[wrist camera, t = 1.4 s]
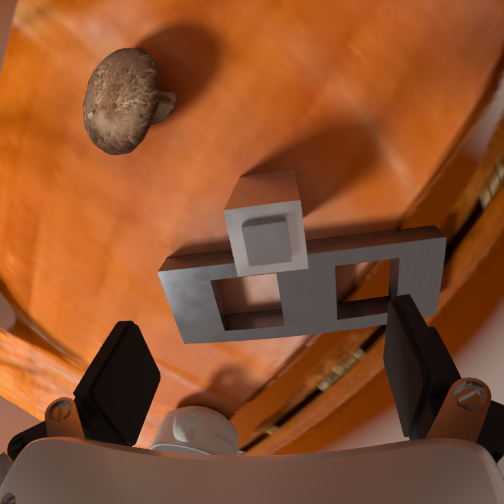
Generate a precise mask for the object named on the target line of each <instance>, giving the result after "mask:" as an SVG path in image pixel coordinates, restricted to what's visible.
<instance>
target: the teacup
mask: <svg viewBox="0 0 504 504" xmlns="http://www.w3.org/2000/svg"><path fill="white" fill-rule="evenodd" d="M150 450H159V451H168V452H178V453H189V454H204V455H227V456H237V450H238V434H237V431H236V429H235V427H234V426H233V425H232V423H231V422H229V421H228V420H227V419H226V417H224V416H223V415H222V414H221V413H219V412H217V411H215V410H213V409H210V408H207V407H203V406H186V407H182V408H178V409H175V410H173V411H171V412H169V413H168V414H167V415H166V416H165V418H164V419H163V421H162V423H161V425H160V427H159V429H158V432H157V434H156V436H155V439H154V442H153V444H152V446H151V447H150Z"/></svg>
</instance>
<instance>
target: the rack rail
mask: <svg viewBox="0 0 504 504" xmlns="http://www.w3.org/2000/svg"><path fill="white" fill-rule="evenodd" d="M445 248H446V236H445V235H444V234H443V233H442V232H441V231H440V230H439V229H438V228H437V227H436V226H435V225H433V226H424V227H416V228H407V229H399V230H390V231H382V232H374V233H365V234H357V235H348V236H340V237H332V238H324V239H315V240H307V241H306V250H307V259H308V269H301V270H292V271H283V272H275V273H277V279H278V286H279V292H280V298H281V305H282V309H280V310H270V311H260V312H249V313H238V314H228V311H227V307H226V304H225V300H224V296H223V292H222V288H221V285H220V281H219V279H227V278H237V277H238V274H237V270H236V266H235V261H234V257H233V252H232V250H226V251H218V252H210V253H202V254H194V255H186V256H178V257H170V258H166V260H165V261H164V263H163V264H162V266H161V268H160V269H159V271H158V274H159V277H160V280H161V283H162V285H163V288H164V291H165V294H166V297H167V299H168V302H169V305H170V308H171V310H172V313H173V316H174V318H175V321H176V324H177V326H178V329H179V331H180V334H181V337H182V339H183V342H184V344H188V343H211V342H229V341H244V340H258V339H270V338H281V337H291V336H301V335H310V334H319V333H327V332H335V331H343V330H350V329H357V328H364V327H371V326H378V325H384V324H387V314H388V303H389V301H393V298H394V296H398V295H405V294H410V295H411V297H412V299H413V301H414V302H415V304H416V306H417V308H418V310H419V312H420V313H421V315H422V317H423V318H424V317H429V316H434V315H436V312H437V306H438V301H439V295H440V288H441V281H442V274H443V266H444V258H445ZM386 259H390V280H389V296H385V297H377V298H370V299H363V300H356V301H348V302H341V303H337V301H336V278H335V266H340V265H348V264H356V263H363V262H371V261H379V260H386ZM266 274H273V273H266ZM257 275H264V274H257ZM248 276H255V275H248ZM239 277H246V276H239Z"/></svg>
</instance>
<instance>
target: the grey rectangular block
mask: <svg viewBox="0 0 504 504" xmlns="http://www.w3.org/2000/svg"><path fill="white" fill-rule="evenodd" d="M223 211H224V216H225V220H226V225H227V230H228V234H229V239H230V243H231V248H232V252H233V257H234V261H235V266H236V270H237V274H238V277H239V276H248V275H257V274H266V273H275V272H283V271H292V270H301V269H308V259H307V250H306V241H305V233H304V224H303V216H302V208H301V200H300V195H299V190H298V185H297V181H296V176H295V171H294V169H289V170H281V171H274V172H267V173H260V174H253V175H247V176H240V178H239V180H238V182H237V184H236V186H235V188H234V190H233V192H232V194H231V196H230V198H229V200H228V202H227V204H226V206H225V208H224V210H223Z"/></svg>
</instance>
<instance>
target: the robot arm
mask: <svg viewBox="0 0 504 504" xmlns="http://www.w3.org/2000/svg"><path fill="white" fill-rule="evenodd" d="M383 360H384V366H385V369H386V373H387V376H388V379H389V383H390V386H391V390H392V393H393V397H394V400H395V404H396V408H397V411H398V415H399V419H400V423H401V426H402V431H403V434H404V437H409V439H410V440H409V441H402V442H396V443H389V444H383V445H377V446H371V447H363V448H356V449H348V450H339V451H331V452H320V453H309V454H295V455H270V456H227V455H204V454H189V453H178V452H168V451H159V450H150V449H143V448H136V447H132V446H133V445H135V444H136V442H137V439H138V437H139V434H140V431H141V429H142V426H143V424H144V421H145V418H146V416H147V413H148V410H149V408H150V405H151V403H152V400H153V398H154V395H155V392H156V390H157V387H158V385H159V382H160V378H161V376H160V372H159V369H158V367H157V365H156V363H155V361H154V359H153V357H152V355H151V353H150V351H149V349H148V346H147V344H146V342H145V340H144V338H143V335H142V333H141V331H140V329H139V327H138V325H136V324H135V323H134V322H133V321H119V322H117V324H116V325H115V327H114V328H113V330H112V331H111V333H110V334H109V336H108V337H107V339H106V341H105V342H104V344H103V345H102V347H101V348H100V350H99V352H98V353H97V355H96V356H95V358H94V359H93V361H92V363H91V364H90V366H89V368H88V369H87V371H86V372H85V374H84V376H83V377H82V379H81V381H80V382H79V384H78V386H77V387H76V389H75V391H74V392H73V394H74V395H75V399H74V400H72V399H71V398H68V397H62V398H58V399H56V400H55V401H53V402H52V403H51V404H50V405H49V406H48V407H47V409H46V412H45V421H43V422H41V423H39V424H37V425H35V426H33V427H31V428H29V429H27V430H25V431H23V432H21V433H19V434H17V435H16V436H14V437H13V438H12V440H11V441H10V442H9V444H8V448H7V452H8V453H5V452H3V453H2V454H0V504H504V405H502V404H500V403H497V402H495V401H492V400H491V392H490V389H489V387H488V386H487V385H486V384H485V383H484V382H483V381H481V380H479V379H477V378H461V377H460V374H459V372H458V370H457V368H456V366H455V364H454V362H453V360H452V358H451V356H450V354H449V352H448V350H447V348H446V346H445V345H444V343H443V341H442V339H441V337H440V335H439V333H438V331H437V330H436V328H435V327H433V326H432V327H428V326H427V325H426V323H425V321H424V319H423V317H422V315H421V313H420V312H419V310H418V308H417V306H416V304H415V302H414V301H413V299H412V297H411V295H410V294H405V295H398V296H394V298H393V301H389V303H388V314H387V326H386V337H385V347H384V356H383Z"/></svg>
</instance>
